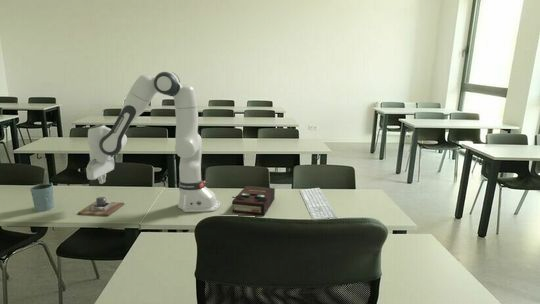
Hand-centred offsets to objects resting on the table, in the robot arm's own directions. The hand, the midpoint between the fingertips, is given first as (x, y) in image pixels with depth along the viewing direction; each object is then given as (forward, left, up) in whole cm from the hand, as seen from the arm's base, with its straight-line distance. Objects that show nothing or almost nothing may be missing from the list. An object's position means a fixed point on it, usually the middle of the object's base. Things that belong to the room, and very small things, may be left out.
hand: (102, 183), depth 195 cm
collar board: (+1, +2, -14) cm, 14 cm away
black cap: (+1, +2, -13) cm, 13 cm away
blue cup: (+31, +5, -14) cm, 34 cm away
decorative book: (-77, -16, -15) cm, 80 cm away
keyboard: (-110, -23, -15) cm, 113 cm away
